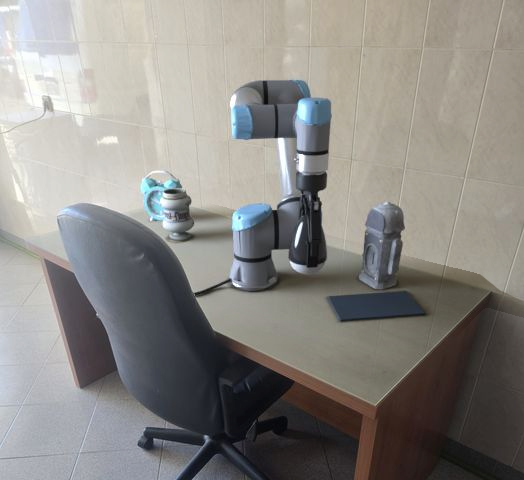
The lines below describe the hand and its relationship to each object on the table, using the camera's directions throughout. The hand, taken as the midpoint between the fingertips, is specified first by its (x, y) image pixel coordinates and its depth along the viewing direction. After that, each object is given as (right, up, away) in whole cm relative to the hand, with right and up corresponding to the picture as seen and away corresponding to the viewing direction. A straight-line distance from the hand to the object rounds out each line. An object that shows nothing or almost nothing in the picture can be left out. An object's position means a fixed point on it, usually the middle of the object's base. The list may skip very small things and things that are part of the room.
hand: (307, 258), depth 124 cm
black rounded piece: (0, -3, +2) cm, 3 cm away
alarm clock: (-54, +32, +78) cm, 100 cm away
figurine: (+25, -3, +23) cm, 34 cm away
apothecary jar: (-44, +20, +59) cm, 76 cm away
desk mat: (+20, -12, +10) cm, 25 cm away
